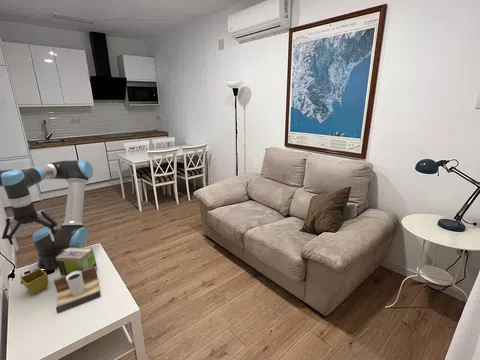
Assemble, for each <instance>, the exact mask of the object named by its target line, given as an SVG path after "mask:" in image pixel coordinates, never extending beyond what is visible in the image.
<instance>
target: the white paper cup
mask: <svg viewBox="0 0 480 360" xmlns="http://www.w3.org/2000/svg"><path fill="white" fill-rule="evenodd" d="M66 280H67V283H68V286H69V288H70V291H71V293H72V295H73V296H77V295H80V294H82V293H83V292H84V291H85V286H84V282H83V277H82V272H81V271H75V272H72V273H70V274H68V275H67V276H66Z"/></svg>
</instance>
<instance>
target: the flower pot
mask: <svg viewBox="0 0 480 360" xmlns="http://www.w3.org/2000/svg"><path fill="white" fill-rule="evenodd" d="M19 279H20V281H21V283H22V284H23V286H24V287H25V288H26V289H27V290H28V291H29V292H30V293H32V294H33V295H37V294H38V293H40V292H42V291H44V290H45V289H47V287H48V285H49V280H48V279H49V278H48V274H47V272H46V271H43V270H41V269H40V268H37V269H35V270H33V271H32V272H29V273H27V274H24V275H23V276H21V277H20V278H19Z"/></svg>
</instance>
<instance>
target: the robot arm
mask: <svg viewBox="0 0 480 360" xmlns="http://www.w3.org/2000/svg"><path fill="white" fill-rule="evenodd" d="M93 176H94V168H93V166H92V164H91V163H90V162H89V161H88V160H85V159H78V160H60V161H54V162H49V163H43V164H42V165H37V166H29V167H20V168H12V169H11V168H10V169H2V170H1V169H0V187H3V188H4V191H5V193H6V195H7V199H8V202H9V205H10V207H11V211H12V212H13V216H11V217H10V216H7V217H6V218H5V227H4V229H3V233H2V236H1V239H2V240H5V239H7V241H8V242H9V244H10V246H13V247H14V249H15V250H14V251H16V252H18V251H19V249H20V247H19V244H18V242H17V239H16V236H15V233H16V232H17V230H18V229H19V228H20V226H21V225H27V224H32V223H38V224H40V225H42V226H43V227H41V228H39V229H38V230H36V231H35V232H33V234H32V236H31V237H32V242H33V244H34V247H35V249H36V252H37V255H38V259H37V269H39V268H40V269H50V268H53V269H54V270H57V269H59V267H58V264H57V261H56V257H57V256H58V255H60V254H61V253H62V252H64V251H65V250H66V249H67V248H83V246H85V244H86V242H87V239H88V237H89V232H88V229H87V228H86V227H85V224H84V223H83V211H84V202H85V201H84V199H85V191H86V190H85V189H86V185H87V184H88V183H89V180H90V179H92V178H93ZM44 180H65V181H66V182H67V183H68V189H67V198H66V204H65V205H66V206H65V214H64V221H63V222H64V223H62V224H61V225H60V228H57V227H58V222H57V221H56V220H54V218H52V217H51V216H50V215H48V213H47V212H46V211H45V209H41V210H39V211H36V208H35V205H34V203H33V198H32V196H31V193H30V190H29V188H31V187H33V186H35V185H37V184H39V183H41V182H42V181H44ZM38 215H39V216H41V217H43V218H44V219H45V220H44V219H42V218H41V217H38ZM13 221H16V224H15V225H14V227H13V228H12V230H11V231H10V233H9V229H10V225H11V224H12V222H13ZM8 233H9V234H8Z"/></svg>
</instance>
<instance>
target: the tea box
mask: <svg viewBox="0 0 480 360" xmlns="http://www.w3.org/2000/svg"><path fill="white" fill-rule="evenodd" d="M64 250H65V251H64V252H62V253H61V254H60V255H58V256H57V257H56V261H57V264H58V267H59V268H58V270H59V274H60V276H61V277H63V276H66V275H68V274H70V273H72V272H75V271H82V270H85V269H88V268H91V267H94V266H95V269H96V272H97V271H98V263H97V261H96V257H95V253H94V249H93V248H92V247H80V248H67V249H64Z"/></svg>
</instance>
